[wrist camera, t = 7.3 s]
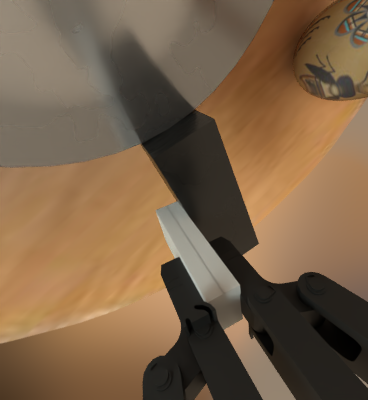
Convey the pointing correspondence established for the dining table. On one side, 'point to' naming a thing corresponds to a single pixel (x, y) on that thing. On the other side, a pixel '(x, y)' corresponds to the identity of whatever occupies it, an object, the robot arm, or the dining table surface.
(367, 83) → the ceramic vessel
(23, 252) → the dining table surface
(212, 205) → the cooker lid
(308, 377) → the robot arm
